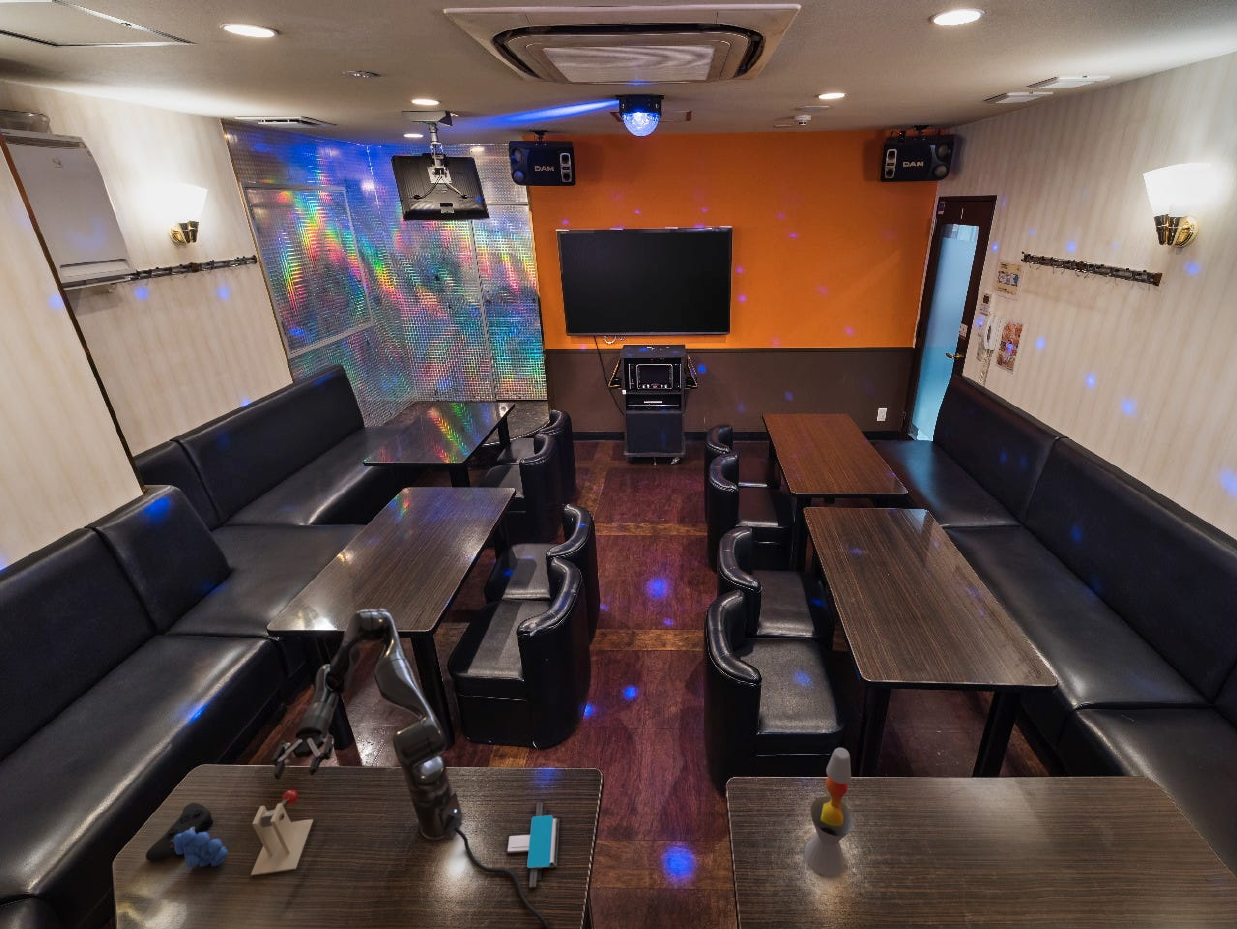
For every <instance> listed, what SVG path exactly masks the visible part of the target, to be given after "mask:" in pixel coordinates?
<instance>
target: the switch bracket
mask: <svg viewBox="0 0 1237 929" xmlns="http://www.w3.org/2000/svg"><path fill="white" fill-rule="evenodd" d="M275 808H276V809H275ZM275 808H274V809H275V811H274V814H273V816H272V818H271V821H270V822H271V824H272V826H268V827H262V816H263V815H264V814H265V813H266V812H267V811H268V810H267V808H266V806H265V805H260V806H259V808H258V810H257V812H256V815H255V816H254V819H253V822H252V827H253V829H254V831H255V833H256V835H257V836H258V838H259V840H260V842H261V844H262V847H261V850H260V852H259V854H258V856H257V859H256V861H255V863H254V866H253V868H252V870H251V873H250V876H251V877H252V876H261V875H266V874H274V873H281V872H288V871H294V870H296V869H297V866H298V865H299V864H298V863H299V861H300V859H301V856H302V852H303V850H304V847H305V845H306V842H307V839H308V836H309V833H310V831H311V828H312V825H313V822H314V819H313V818H311V819H303V820H296V821H291V819H290V817H289V815H288V813H287V811H286V809H285V807H283V804H282V803H281V802H279V803H277V804H276V807H275Z"/></svg>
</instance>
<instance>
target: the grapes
mask: <svg viewBox="0 0 1237 929" xmlns="http://www.w3.org/2000/svg"><path fill="white" fill-rule="evenodd" d="M173 843H174V845H175V852H176V853H177V855H178V854H184V855H185V856H184V862H185V865H186V867H187V869H188V868H193V867H197V866H198V865H199V867H200V868H203V867H206V866H208V865H211V867H218V866H219V865H221V864H222V863H223V862H224V861H225V859H226V858H228V856H229V853H228V852H229V851H228V849H227V847H226V846H223V842H222V840H221V838H218V837H217V838H212V839H211V836H210V834H209V832H208V831H201V832H198V833H197V835H196V832H195V831H194V829H192V830H186V831H184V832H183V833H180V834H177V835H175V836H174V838H173Z"/></svg>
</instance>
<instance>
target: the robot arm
mask: <svg viewBox="0 0 1237 929" xmlns="http://www.w3.org/2000/svg"><path fill="white" fill-rule="evenodd" d="M373 643H380V644H381V645H382V647H383V650H382V652H381V653H380V655H379V657H378V660H377V661H376V664H375V666H374V671H373V677H374V681H375V684H376V686H377V689H378V691H379V694H380V696H381V697H382V699H384V701H386V702H388V703H390V704H391V705H393V706H395V707H397V708H400V709H403V710H405V711H407V712H409V713H411V714H412V715H413V716H415V717H416V718H417V720H416V721H413V722H412V723H409V724H408V725H405V726H403V727H401V728H399V729H398V730H396V731H395V732H393V736H392V746H393V750H394V753H395V756H396V758H397V760H398V763H399V765H400V768H401V770H402V773H403V776H404V779H405V783H406V787H407V789H408V790H407V791H408V794H409V795H410V799H411V802H412V805H413V810H414V813H415V816H416V818H417V821H418V824H419V829H420V832H421V834H422V836H423V837H424V838H425V839H426V840H428V841H441V840H443V839H447V840H449V841H453V840H454V838H456V835H457V834H458V835H459V836H460V837H461V839H462V840H463V843H464V844H463V845H464V848H465V851H466V853H467V855H468V857H469V859H470V861H471V862H472V863H473V864H474V865H475V866H476V867H477V868H479V869H480V870H481V871H484V872H486V873H497V874H505V875H508V876H509V877H511V878H512V880H513V881H514V884H515V886H516V890H517V893H518V896H519V898H520V900H521V902H522V904H523V906H524V907H525V908H526V909H527V910H529V912H530V913H532V914H533V915H534V916H535V917H536V918H537V919H538V920H539V921H540V923H541V924H542V926H543V927H544V929H549V928H550V926H549V924H548V923H547V921H546V919H545V918H544V917H543V916H542V914H541V913H539V911H537V909H535V908H534V907H533V906H532V905H531V903H529V902H528V900H527V898H526V897H525V895H524V892H523V890H522V886H521V883H520V880H519V878H518V877H517V875H516V874H515V873H514V872H512V871H511V870H509V869H506V868H500V867H499V868H498V867H489V866H485V865H484V864H482V863H481V862H479V861H478V860H477V859H476V857H475V855H474V854H473V852H472V849H471V848H470V845H469V841H468V838H467V835H466V834H465V833H464V832H463V831H462V830H461V829H460V828H461V826H462V825H463V822H462V817H463V814H462V810H461V806H460V803H459V798H458V795H457V792H456V791H455V790H453V788H452V785H451V780H450V778H449V773H448V770H447V765H446V762H445V760H444V759H443V757H442V756H441V755H442V754H443V753H444V752H445V751H446V750H447V746H448V742H447V736H446V734H445V732H444V729H443V727H442V725H441V723H440V721H439V719H438V717H437V716H436V714H435V712H434V710H433V708H432V707H431V704H430V703H429V701H428V699H427V697H426V695H425V693H424V690H423V688H422V686H421V683H420V681H419V678H418V676H417V673H416V671H415V669H414V666H413V664H412V663H411V660H410V659H409V656H408V655H407V653H406V650H405V648H404V646H403V643H402V640H401V637H400V634H399V632H398V629H397V625H396V621H395V618H394V616H393V614H392V613H391V611H390V610H389V609H387V608H362V609H357V610H355V611H354V612H352V614H351V616H350V618H349V620H348V622H347V625H346V628H345V631H344V633H343V636H342V640H341V642H340V646H339V648H338V650H337V652H336V654H335V655H334V657H333V658H332V660H331V662H330V663H327V664H323V665H321V666H320V667H319V668H318V669H317V671H316V674H315V678H314V687H313V689H314V690H313V696H312V697H311V701H310V703H309V706H308V707H307V709H306V711H305V712H304V714H303V715H302V716H303V717H302V719H301V721H300V723H299V725H298V728H297V730H296V732H295V736H294V739H293V740H292V741H291V742H286V740H281V741H280V742H279V745H278V746H277V748H276V750H275V752H274V754H273V756H272V757H271V761H272V763H273V765H274V767H275V768H274V771H273V776H274V778H275V780H276V781H277V780H280V779H281V778H282V776H283V774H284V771H285V769H286V766H287V765H288V764H290V763H293V762H294V761H295V760H297V759H300V758H301V759H302V758H304V757H305V758H309V757H311V756H313V758H312V761H311V763H310V766H309V768H308V773H309V775H310V776H315V774H316V773H317V772H318V771H319V769H320V765H321V763H322V762H323V761H325V760H326V761H328V760H330V759H331V757H332V753H333V749H334V746H335V743H336V742H335V738H334V736H333V735H332V734H330V735H328V736H327V734H328V731H329V728H330V726H331V724H332V721H333V717H334V714H335V710H336V708H337V705H338V703H339V699H340V698H339V695H341V694H345V693H346V692H348V691H349V689H350V688H351V686H352V684H353V680H354V672H355V671H356V668H357V667H358V665H359V664H360V663H361V660H362V656H363V655H362V650H361V647H360V645H359V644H373ZM326 736H327V737H326ZM323 746H324V748H323V750H322V752H320V750H319V749H320V748H322V747H323ZM292 753H293V755H292Z"/></svg>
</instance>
